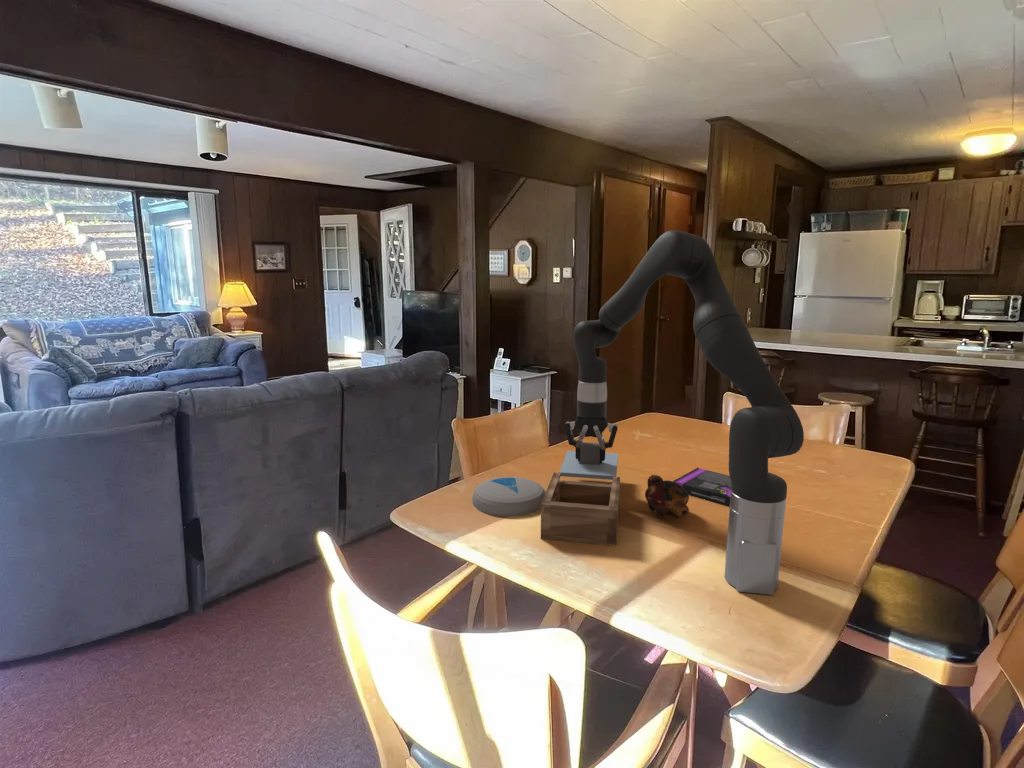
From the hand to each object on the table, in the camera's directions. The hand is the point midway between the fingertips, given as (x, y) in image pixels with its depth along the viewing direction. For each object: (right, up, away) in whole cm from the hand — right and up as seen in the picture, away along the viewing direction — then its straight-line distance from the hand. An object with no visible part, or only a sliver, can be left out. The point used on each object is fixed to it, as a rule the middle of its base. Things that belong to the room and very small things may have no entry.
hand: (590, 461), depth 153 cm
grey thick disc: (-21, -10, -7) cm, 24 cm away
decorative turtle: (+16, -11, -15) cm, 24 cm away
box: (+33, -9, -2) cm, 34 cm away
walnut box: (-5, -11, -20) cm, 23 cm away
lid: (0, -1, 0) cm, 1 cm away
